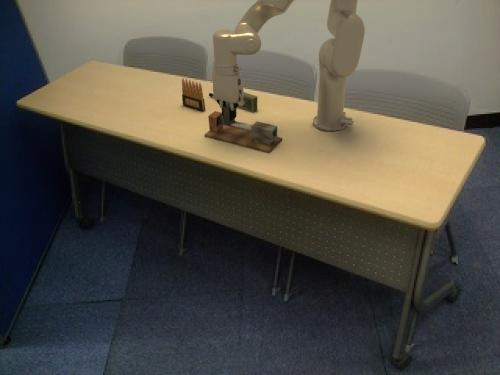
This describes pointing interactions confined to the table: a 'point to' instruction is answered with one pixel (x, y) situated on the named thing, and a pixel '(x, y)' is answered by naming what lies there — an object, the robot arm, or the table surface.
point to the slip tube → (233, 123)
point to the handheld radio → (247, 102)
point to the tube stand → (244, 134)
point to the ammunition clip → (192, 95)
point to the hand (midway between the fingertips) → (229, 117)
